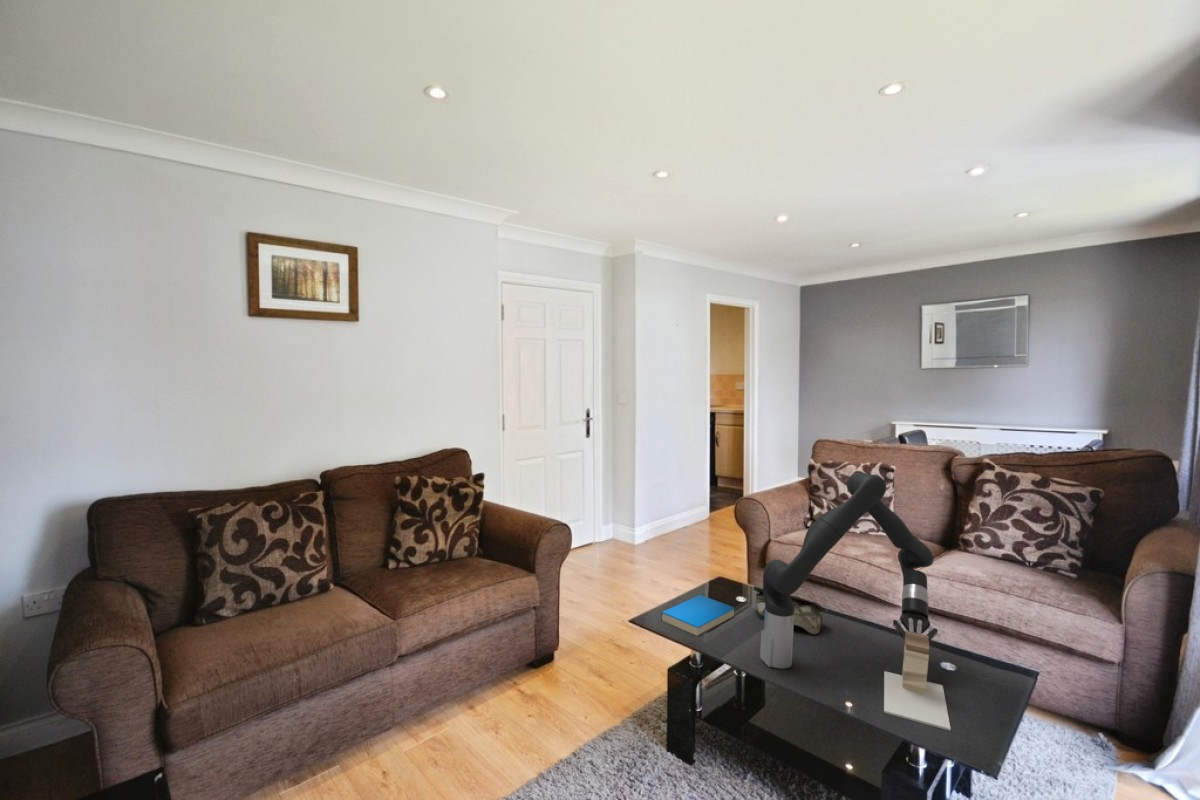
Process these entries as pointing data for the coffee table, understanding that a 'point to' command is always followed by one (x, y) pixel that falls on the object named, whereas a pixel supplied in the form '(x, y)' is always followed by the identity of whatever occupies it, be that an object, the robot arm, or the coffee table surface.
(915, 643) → the maple block
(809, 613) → the weathered driftwood
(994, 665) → the coffee table surface
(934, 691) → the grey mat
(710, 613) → the book
